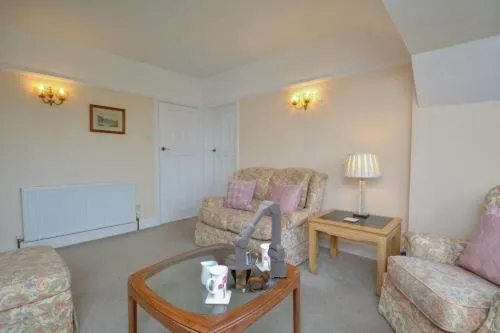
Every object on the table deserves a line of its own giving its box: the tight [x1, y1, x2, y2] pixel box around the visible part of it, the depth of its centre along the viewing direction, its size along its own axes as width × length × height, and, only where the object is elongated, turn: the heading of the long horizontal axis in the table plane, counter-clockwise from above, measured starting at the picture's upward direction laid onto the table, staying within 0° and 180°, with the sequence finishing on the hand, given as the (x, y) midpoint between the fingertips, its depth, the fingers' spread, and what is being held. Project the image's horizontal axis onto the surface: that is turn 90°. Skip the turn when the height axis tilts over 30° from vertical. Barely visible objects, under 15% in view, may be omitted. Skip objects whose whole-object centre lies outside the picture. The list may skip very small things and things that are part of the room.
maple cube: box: [235, 275, 247, 290], centre depth 139 cm, size 5×5×5 cm
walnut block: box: [236, 270, 255, 280], centre depth 150 cm, size 10×10×4 cm
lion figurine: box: [244, 269, 271, 293], centre depth 135 cm, size 15×5×9 cm, turn 117°
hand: (241, 283), depth 139 cm, fingers closed on maple cube, 5 cm apart
